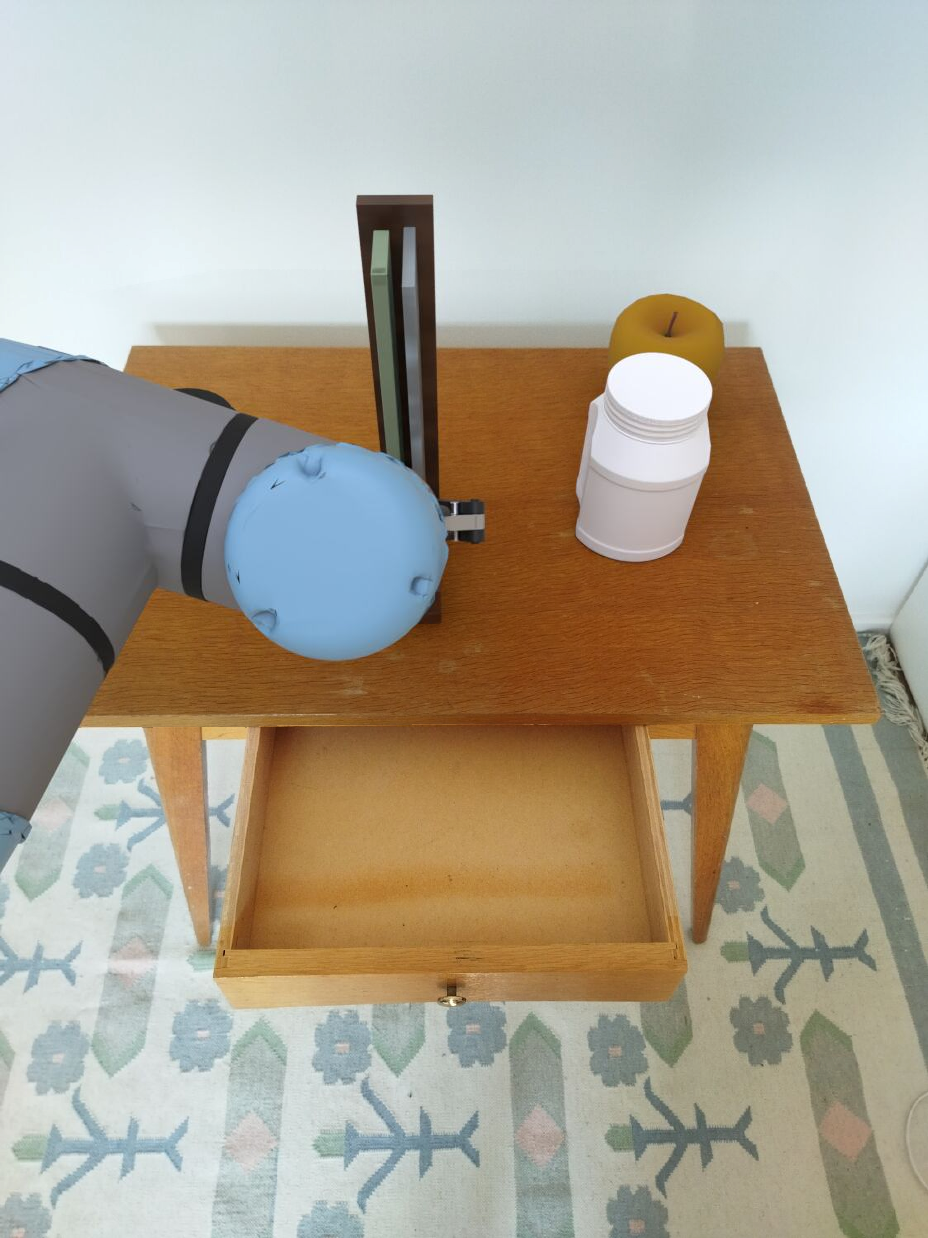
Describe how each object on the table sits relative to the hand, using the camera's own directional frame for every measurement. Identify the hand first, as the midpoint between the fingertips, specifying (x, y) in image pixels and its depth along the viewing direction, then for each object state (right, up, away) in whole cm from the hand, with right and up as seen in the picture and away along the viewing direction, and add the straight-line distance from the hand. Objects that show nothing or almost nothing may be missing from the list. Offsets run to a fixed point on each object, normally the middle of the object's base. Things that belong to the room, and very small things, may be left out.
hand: (395, 512), depth 65 cm
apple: (+24, +12, +19) cm, 33 cm away
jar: (+21, +1, +11) cm, 24 cm away
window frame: (+1, -3, +8) cm, 8 cm away
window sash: (0, 0, +7) cm, 7 cm away
